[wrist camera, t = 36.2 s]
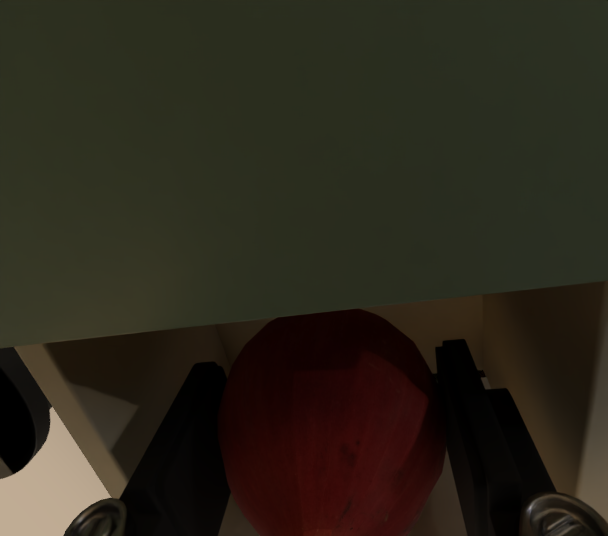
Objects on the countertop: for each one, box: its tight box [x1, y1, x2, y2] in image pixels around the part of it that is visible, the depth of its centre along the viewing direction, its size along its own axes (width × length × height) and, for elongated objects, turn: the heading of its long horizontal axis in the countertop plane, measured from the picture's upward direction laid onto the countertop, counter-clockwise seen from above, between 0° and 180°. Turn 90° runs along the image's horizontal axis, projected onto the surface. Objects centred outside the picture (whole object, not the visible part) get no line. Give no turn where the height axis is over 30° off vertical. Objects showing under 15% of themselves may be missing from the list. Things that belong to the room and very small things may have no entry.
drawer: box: [14, 281, 608, 536], centre depth 13 cm, size 20×14×8 cm
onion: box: [217, 308, 446, 536], centre depth 10 cm, size 6×6×8 cm
